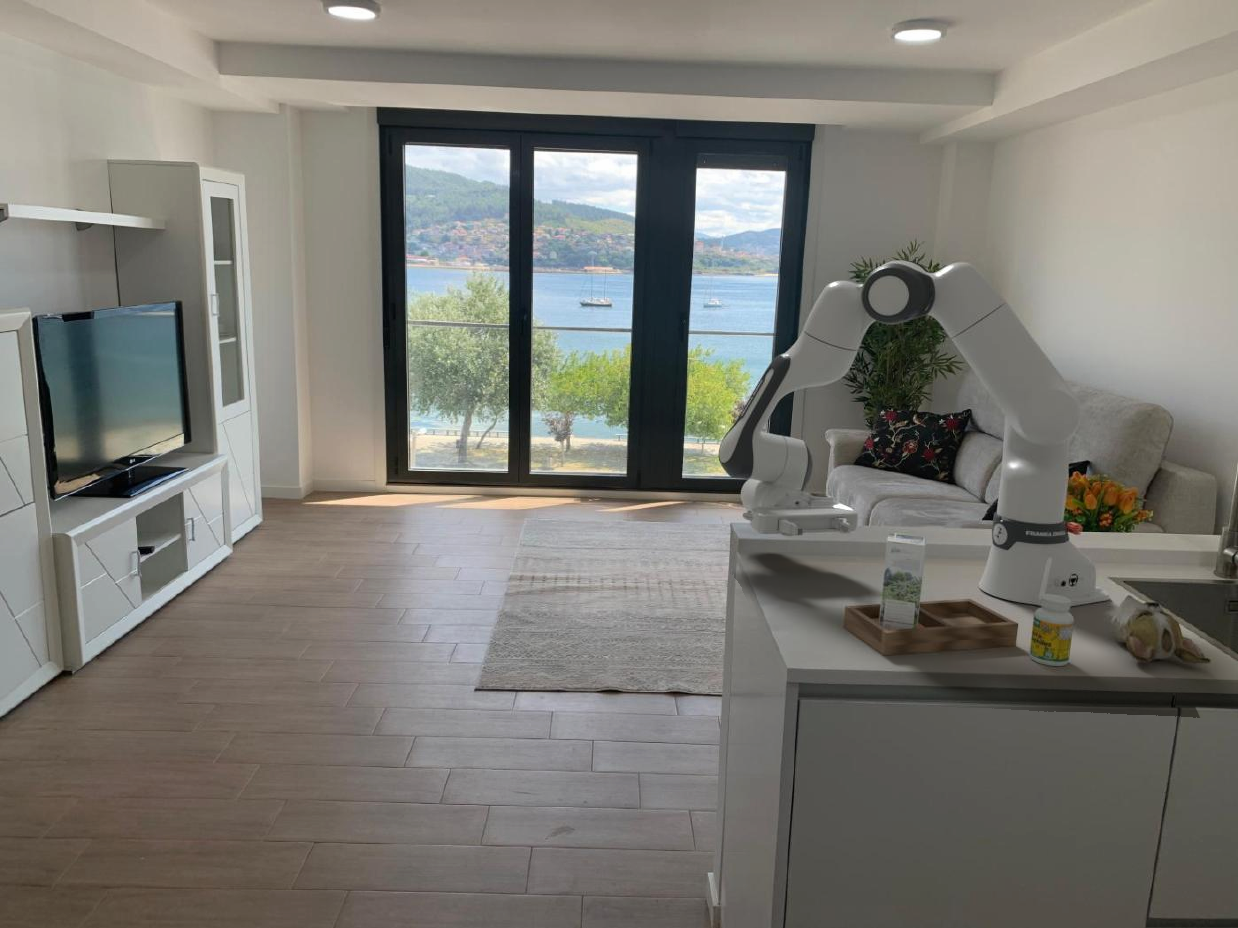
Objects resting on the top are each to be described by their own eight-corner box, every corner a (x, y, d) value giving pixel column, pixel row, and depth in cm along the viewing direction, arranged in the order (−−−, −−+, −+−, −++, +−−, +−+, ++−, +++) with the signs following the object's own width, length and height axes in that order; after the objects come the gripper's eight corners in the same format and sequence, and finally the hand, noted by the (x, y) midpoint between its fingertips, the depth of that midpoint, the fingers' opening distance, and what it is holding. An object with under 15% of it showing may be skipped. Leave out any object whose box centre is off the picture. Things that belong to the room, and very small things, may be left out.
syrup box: (917, 624, 150) (926, 534, 147) (916, 636, 144) (926, 544, 141) (879, 619, 151) (888, 530, 149) (877, 631, 146) (886, 539, 143)
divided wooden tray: (967, 618, 158) (970, 598, 158) (1015, 645, 147) (1018, 623, 146) (843, 626, 152) (845, 606, 151) (883, 655, 141) (885, 632, 140)
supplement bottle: (1076, 664, 140) (1085, 602, 138) (1049, 668, 138) (1057, 605, 136) (1047, 651, 145) (1055, 590, 143) (1020, 655, 143) (1028, 594, 141)
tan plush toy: (1163, 586, 151) (1222, 624, 136) (1153, 636, 153) (1211, 680, 138) (1096, 584, 151) (1149, 623, 136) (1088, 635, 153) (1139, 678, 138)
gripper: (740, 497, 180) (771, 514, 167) (837, 495, 186) (874, 511, 173) (737, 529, 181) (768, 549, 168) (834, 526, 187) (871, 545, 174)
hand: (823, 530), depth 170 cm, fingers open, 8 cm apart
